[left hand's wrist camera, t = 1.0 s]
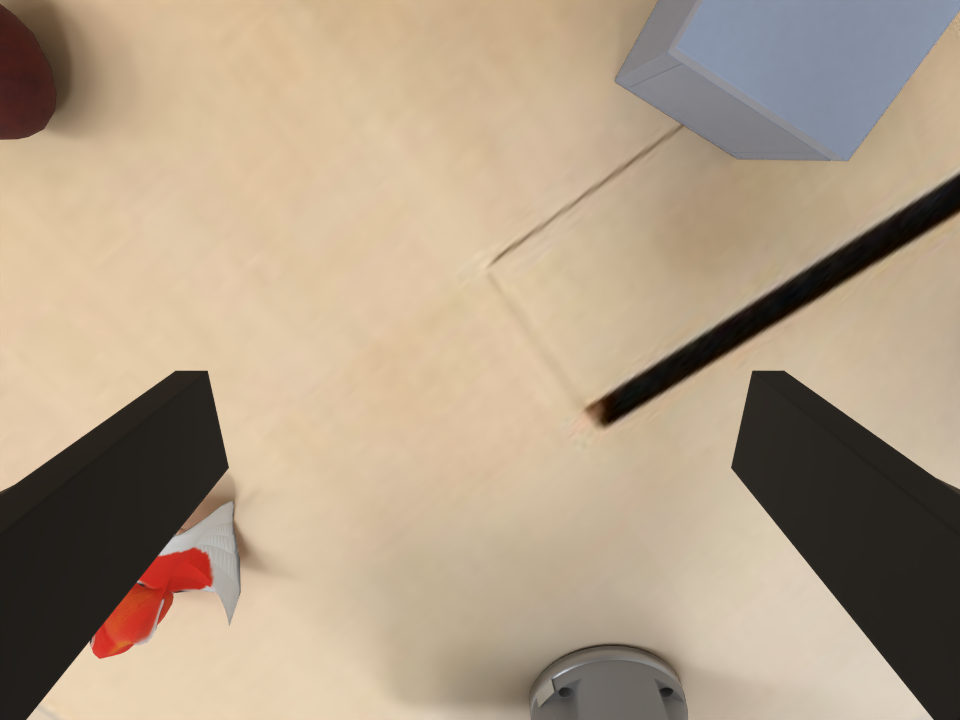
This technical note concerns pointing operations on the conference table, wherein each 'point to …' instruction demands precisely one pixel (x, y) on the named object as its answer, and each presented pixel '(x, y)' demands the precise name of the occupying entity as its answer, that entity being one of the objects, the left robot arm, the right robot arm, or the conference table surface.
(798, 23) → the lid
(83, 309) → the conference table surface
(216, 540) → the fish
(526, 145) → the conference table surface
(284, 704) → the conference table surface
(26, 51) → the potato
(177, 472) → the left robot arm
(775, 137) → the chest
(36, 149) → the conference table surface
